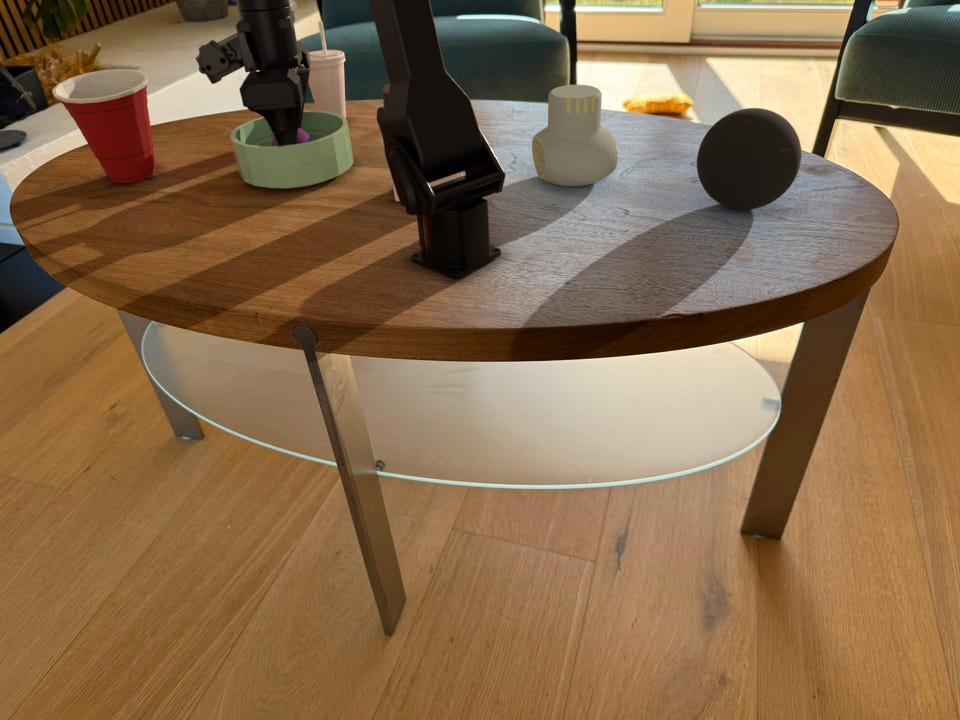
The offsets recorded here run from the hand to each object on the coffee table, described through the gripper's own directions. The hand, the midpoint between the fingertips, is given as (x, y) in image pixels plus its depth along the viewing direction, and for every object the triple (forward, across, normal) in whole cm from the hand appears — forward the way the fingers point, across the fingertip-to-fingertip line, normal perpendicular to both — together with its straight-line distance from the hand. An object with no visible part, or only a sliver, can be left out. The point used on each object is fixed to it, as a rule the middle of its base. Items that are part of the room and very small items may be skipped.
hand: (292, 144), depth 89 cm
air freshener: (+4, +11, +33) cm, 35 cm away
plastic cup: (+4, -4, -22) cm, 22 cm away
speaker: (+4, +23, +48) cm, 54 cm away
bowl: (+4, 0, 0) cm, 4 cm away
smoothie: (+4, -19, +4) cm, 20 cm away
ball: (0, 0, 0) cm, 0 cm away
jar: (+4, +11, +16) cm, 20 cm away
